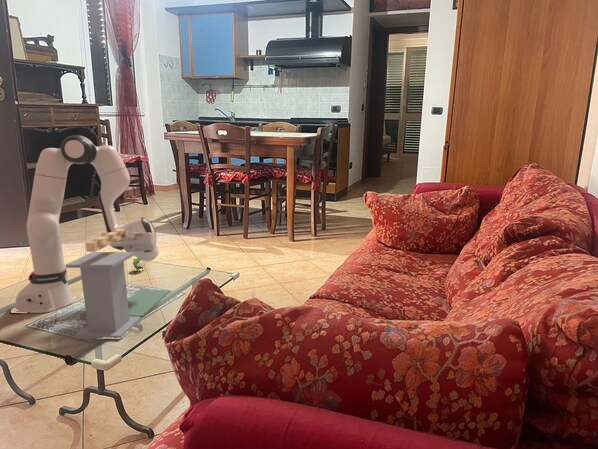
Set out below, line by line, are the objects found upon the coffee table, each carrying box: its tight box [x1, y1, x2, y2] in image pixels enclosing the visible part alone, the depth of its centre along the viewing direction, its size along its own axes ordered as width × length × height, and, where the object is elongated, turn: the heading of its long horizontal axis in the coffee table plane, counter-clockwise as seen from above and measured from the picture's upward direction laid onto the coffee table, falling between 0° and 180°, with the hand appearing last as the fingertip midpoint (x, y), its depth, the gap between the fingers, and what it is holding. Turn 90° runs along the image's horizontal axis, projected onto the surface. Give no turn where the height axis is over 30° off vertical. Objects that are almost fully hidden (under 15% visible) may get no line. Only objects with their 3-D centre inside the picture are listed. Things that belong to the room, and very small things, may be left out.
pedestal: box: [65, 251, 143, 340], centre depth 155 cm, size 16×16×26 cm
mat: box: [127, 289, 171, 317], centre depth 181 cm, size 28×14×1 cm, turn 175°
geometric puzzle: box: [130, 257, 147, 272], centre depth 226 cm, size 7×7×8 cm
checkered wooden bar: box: [85, 229, 126, 253], centre depth 156 cm, size 22×3×3 cm, turn 175°
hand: (118, 233), depth 164 cm, fingers closed on checkered wooden bar, 3 cm apart
